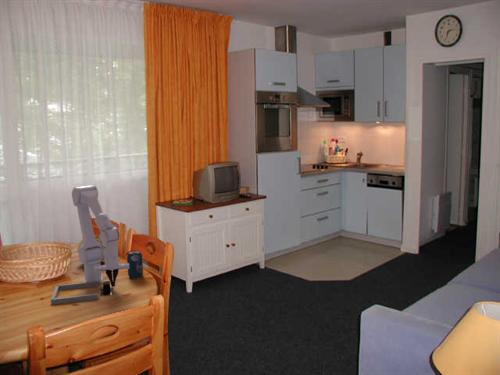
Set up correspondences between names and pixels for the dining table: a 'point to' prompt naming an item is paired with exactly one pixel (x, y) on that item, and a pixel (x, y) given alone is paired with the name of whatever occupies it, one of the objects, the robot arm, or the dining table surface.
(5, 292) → the dining table surface
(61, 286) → the truck bay
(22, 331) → the dining table surface
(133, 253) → the soda can
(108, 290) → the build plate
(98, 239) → the cantaloupe
